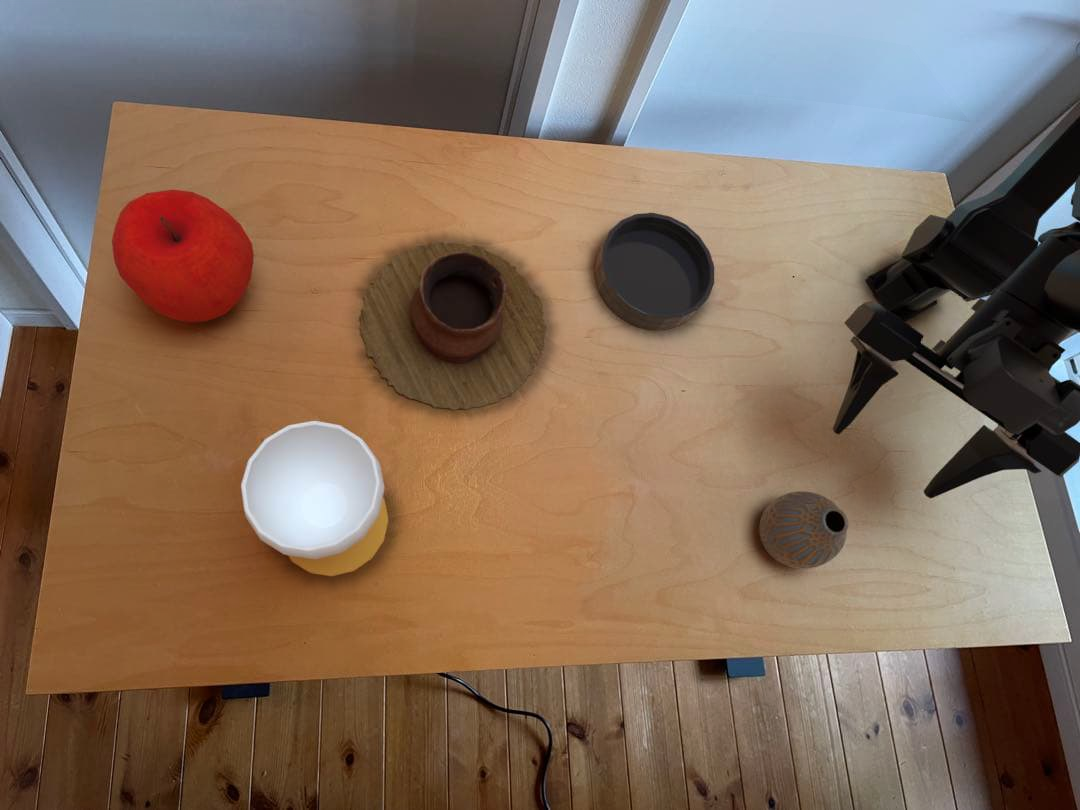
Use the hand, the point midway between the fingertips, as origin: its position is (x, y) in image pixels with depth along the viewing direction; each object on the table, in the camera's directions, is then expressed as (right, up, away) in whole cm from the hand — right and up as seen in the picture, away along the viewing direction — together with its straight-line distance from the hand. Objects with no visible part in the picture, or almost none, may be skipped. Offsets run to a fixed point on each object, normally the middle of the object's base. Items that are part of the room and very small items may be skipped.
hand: (880, 463), depth 56 cm
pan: (-17, +18, +15) cm, 29 cm away
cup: (-46, -5, +1) cm, 46 cm away
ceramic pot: (-37, +13, +9) cm, 40 cm away
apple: (-59, +15, +5) cm, 61 cm away
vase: (-5, -8, +9) cm, 13 cm away
